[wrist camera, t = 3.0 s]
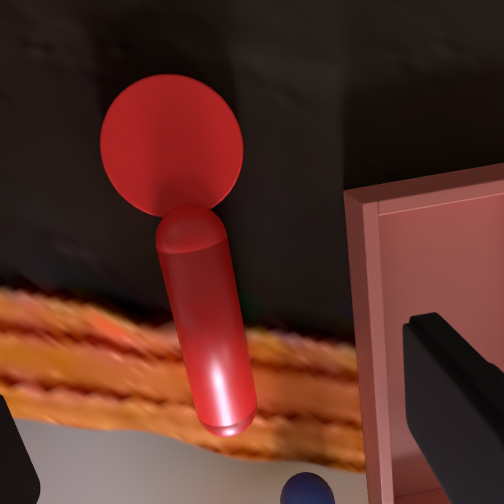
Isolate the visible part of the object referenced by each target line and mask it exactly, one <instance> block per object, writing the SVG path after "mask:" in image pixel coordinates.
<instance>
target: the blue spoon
mask: <svg viewBox="0 0 504 504" xmlns="http://www.w3.org/2000/svg"><path fill="white" fill-rule="evenodd" d="M280 503H281V504H335V500H334V496H333V492H332V490H331V488H330V486H329V485H328V484H327V482H326V481H325V480H324V479H322V478H321V477H320V476H318V475H316V474H314V473H309V472H303V473H298V474H296V475H294V476H292V477H291V478H290V479H289V480H288V481H287V482H286V484H285V485H284V487H283V490H282V493H281V498H280Z"/></svg>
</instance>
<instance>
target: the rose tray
mask: <svg viewBox="0 0 504 504" xmlns="http://www.w3.org/2000/svg"><path fill="white" fill-rule="evenodd" d="M343 194H344V206H345V218H346V231H347V243H348V255H349V268H350V280H351V293H352V305H353V317H354V330H355V342H356V354H357V367H358V379H359V391H360V404H361V416H362V428H363V441H364V453H365V465H366V478H367V489H368V502H369V504H451V503H450V501H449V499H448V497H447V496H446V494H445V492H444V490H443V489H442V487H441V485H440V483H439V482H438V480H437V478H436V476H435V475H434V473H433V471H432V469H431V468H430V466H429V464H428V462H427V461H426V459H425V457H424V455H423V454H422V452H421V450H420V448H419V447H418V445H417V443H416V441H415V440H414V438H413V436H412V434H411V432H410V430H409V428H408V425H407V421H406V411H405V385H404V360H403V334H402V327H403V324H405V323H409V319H410V317H411V316H414V315H420V314H426V313H432V312H437V313H438V314H439V315H440V316H441V317H443V318H444V319H445V320H446V321H447V322H448V323H449V324H450V325H451V326H452V327H453V328H454V329H455V330H456V331H457V332H458V333H459V334H460V335H461V336H462V337H463V338H464V339H465V340H466V341H467V342H468V343H469V344H470V345H471V346H472V347H473V348H474V349H475V350H476V351H477V352H478V353H479V354H480V355H481V356H482V357H483V358H484V359H485V360H486V361H487V362H490V363H493V364H494V365H496V366H497V367H498V368H499V369H500V370H501V371H502V372H503V373H504V163H499V164H493V165H488V166H482V167H476V168H470V169H465V170H459V171H453V172H447V173H441V174H436V175H430V176H424V177H418V178H412V179H407V180H401V181H395V182H389V183H383V184H378V185H372V186H366V187H360V188H354V189H349V190H344V191H343Z"/></svg>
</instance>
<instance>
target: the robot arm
mask: <svg viewBox="0 0 504 504" xmlns="http://www.w3.org/2000/svg"><path fill="white" fill-rule="evenodd" d="M402 334H403V360H404V385H405V411H406V421H407V425H408V428H409V430H410V432H411V434H412V436H413V438H414V440H415V441H416V443H417V445H418V447H419V448H420V450H421V452H422V454H423V455H424V457H425V459H426V461H427V462H428V464H429V466H430V468H431V469H432V471H433V473H434V475H435V476H436V478H437V480H438V482H439V483H440V485H441V487H442V489H443V490H444V492H445V494H446V496H447V497H448V499H449V501H450V503H451V504H504V373H503V372H502V371H501V370H500V369H499V368H498V367H497V366H496V365H494V364H493V363H490V362H487V361H486V360H485V359H484V358H483V357H482V356H481V355H480V354H479V353H478V352H477V351H476V350H475V349H474V348H473V347H472V346H471V345H470V344H469V343H468V342H467V341H466V340H465V339H464V338H463V337H462V336H461V335H460V334H459V333H458V332H457V331H456V330H455V329H454V328H453V327H452V326H451V325H450V324H449V323H448V322H447V321H446V320H445V319H444V318H443V317H441V316H440V315H439V314H438V313H437V312H432V313H426V314H420V315H414V316H411V317H410V319H409V323H405V324H403V327H402ZM39 495H40V481H39V478H38V476H37V474H36V471H35V469H34V467H33V464H32V462H31V460H30V457H29V455H28V453H27V450H26V448H25V446H24V443H23V441H22V439H21V436H20V434H19V432H18V429H17V427H16V425H15V422H14V420H13V418H12V415H11V413H10V411H9V408H8V406H7V404H6V401H5V399H4V397H3V396H2V395H1V394H0V504H36V503H37V501H38V499H39Z"/></svg>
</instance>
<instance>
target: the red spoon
mask: <svg viewBox="0 0 504 504" xmlns="http://www.w3.org/2000/svg"><path fill="white" fill-rule="evenodd" d="M100 151H101V157H102V162H103V165H104V168H105V171H106V173H107V175H108V177H109V179H110V181H111V182H112V184H113V185H114V187H115V188H116V190H117V191H118V192H119V193H120V194H121V195H122V196H123V197H124V198H125V199H126V200H127V201H128V202H129V203H131V204H132V205H134V206H135V207H137V208H138V209H140V210H142V211H144V212H146V213H149V214H151V215H154V216H158V217H163V219H162V220H161V222H160V224H159V226H158V228H157V232H156V241H155V242H156V249H157V253H158V257H159V261H160V265H161V269H162V273H163V277H164V281H165V285H166V290H167V294H168V298H169V302H170V306H171V310H172V314H173V318H174V322H175V326H176V330H177V334H178V338H179V343H180V347H181V351H182V355H183V359H184V363H185V367H186V371H187V375H188V379H189V383H190V387H191V392H192V396H193V400H194V404H195V408H196V412H197V415H198V418H199V420H200V422H201V424H202V425H203V426H204V428H205V429H206V430H208V431H209V432H210V433H212V434H214V435H216V436H220V437H232V436H236V435H238V434H240V433H242V432H243V431H245V430H246V429H247V428H248V427H249V426H250V424H251V423H252V421H253V419H254V417H255V415H256V411H257V397H256V391H255V386H254V380H253V375H252V369H251V364H250V358H249V353H248V347H247V342H246V336H245V331H244V325H243V320H242V314H241V309H240V303H239V298H238V292H237V287H236V281H235V276H234V270H233V265H232V259H231V254H230V249H229V243H228V238H227V233H226V229H225V227H224V225H223V223H222V221H221V219H220V218H219V217H218V216H217V215H216V214H215V213H214V212H213V211H211V210H210V209H212V208H213V207H214V206H216V205H217V204H219V203H220V202H221V201H222V200H223V199H224V198H225V197H226V196H227V194H228V193H229V192H230V191H231V189H232V188H233V186H234V184H235V183H236V180H237V178H238V176H239V173H240V170H241V166H242V160H243V139H242V134H241V130H240V127H239V124H238V121H237V119H236V117H235V115H234V113H233V111H232V110H231V108H230V107H229V105H228V104H227V103H226V102H225V100H224V99H223V98H222V97H221V96H220V95H219V94H218V93H217V92H215V91H214V90H213V89H212V88H210V87H209V86H207V85H206V84H204V83H202V82H200V81H198V80H196V79H193V78H190V77H187V76H182V75H177V74H160V75H154V76H149V77H146V78H144V79H141V80H138V81H137V82H135V83H133V84H131V85H130V86H128V87H127V88H126V89H125V90H123V91H122V92H121V93H120V94H119V95H118V96H117V97H116V98H115V100H114V101H113V103H112V104H111V105H110V107H109V109H108V111H107V113H106V115H105V118H104V121H103V124H102V128H101V133H100Z"/></svg>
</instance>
